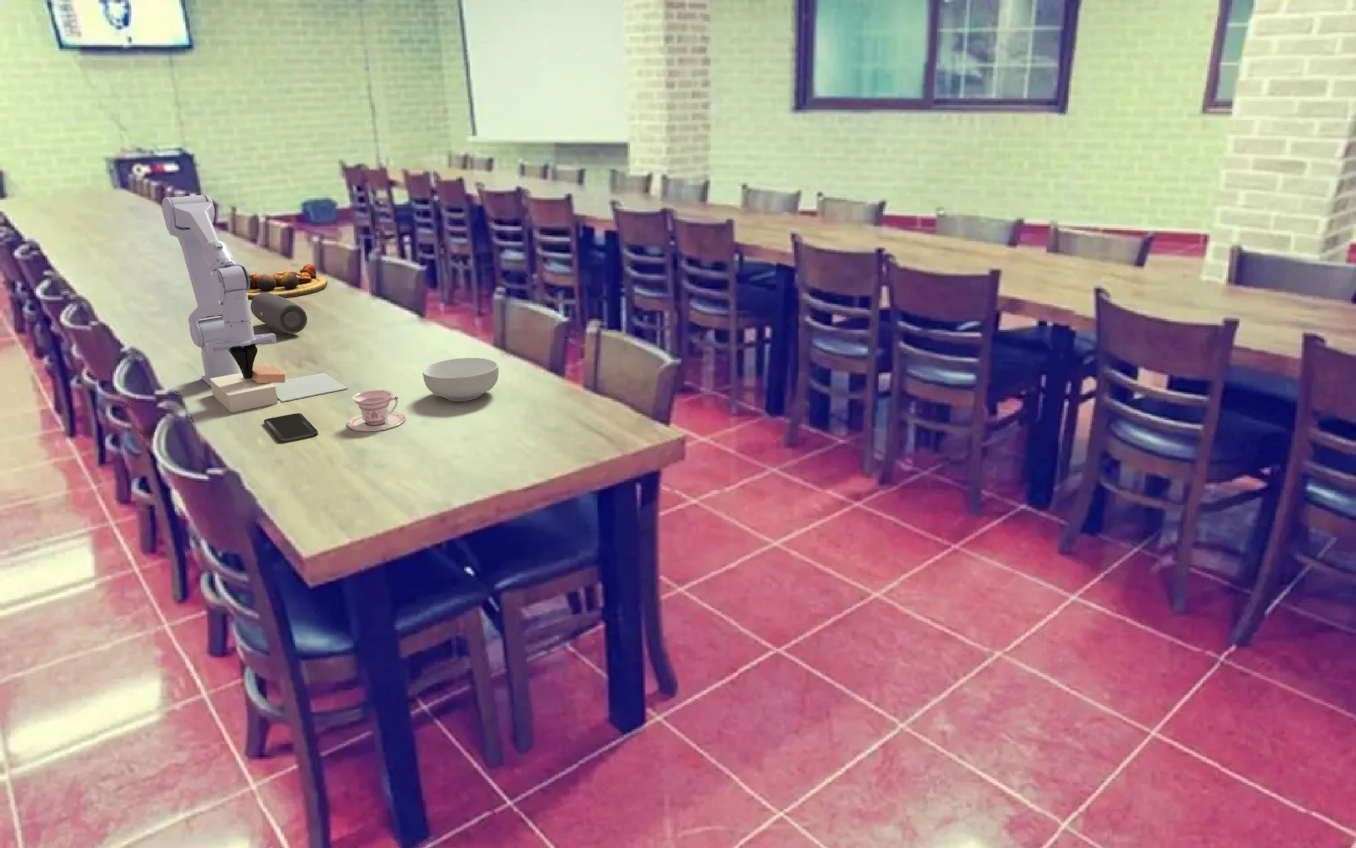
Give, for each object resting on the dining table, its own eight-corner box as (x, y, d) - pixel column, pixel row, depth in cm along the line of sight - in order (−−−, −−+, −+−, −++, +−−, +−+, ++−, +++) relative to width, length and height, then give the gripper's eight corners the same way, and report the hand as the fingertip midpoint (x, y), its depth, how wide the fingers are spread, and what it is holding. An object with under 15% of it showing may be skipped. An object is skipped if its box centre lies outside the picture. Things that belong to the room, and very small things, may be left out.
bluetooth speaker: (251, 326, 279) (245, 293, 275) (282, 320, 284) (277, 288, 281) (278, 340, 263) (273, 305, 259) (311, 334, 269) (306, 300, 265)
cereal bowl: (493, 381, 226) (490, 353, 223) (506, 402, 211) (504, 372, 209) (421, 390, 220) (418, 361, 218) (430, 411, 205) (427, 381, 203)
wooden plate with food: (309, 277, 349) (305, 255, 346) (342, 290, 326) (338, 266, 323) (218, 291, 329) (214, 268, 327) (247, 305, 306) (242, 281, 304)
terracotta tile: (246, 373, 217) (246, 365, 217) (273, 374, 221) (273, 365, 221) (257, 382, 211) (257, 374, 210) (284, 382, 214) (285, 374, 214)
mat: (261, 385, 224) (261, 384, 224) (324, 373, 232) (324, 372, 232) (282, 402, 212) (282, 401, 212) (347, 389, 221) (347, 387, 221)
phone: (279, 440, 188) (262, 419, 199) (280, 445, 188) (263, 424, 199) (319, 432, 192) (300, 412, 203) (320, 437, 192) (301, 417, 204)
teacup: (345, 435, 192) (341, 407, 190) (348, 416, 203) (345, 389, 201) (405, 429, 195) (402, 401, 193) (405, 411, 206) (402, 384, 204)
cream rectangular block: (212, 394, 217) (209, 378, 216) (257, 386, 223) (254, 370, 222) (231, 412, 206) (228, 395, 204) (278, 403, 211) (275, 386, 210)
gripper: (207, 328, 202) (218, 388, 206) (276, 318, 210) (285, 375, 215) (199, 322, 207) (210, 380, 212) (267, 312, 215) (276, 368, 220)
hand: (247, 377), depth 213 cm, fingers closed
